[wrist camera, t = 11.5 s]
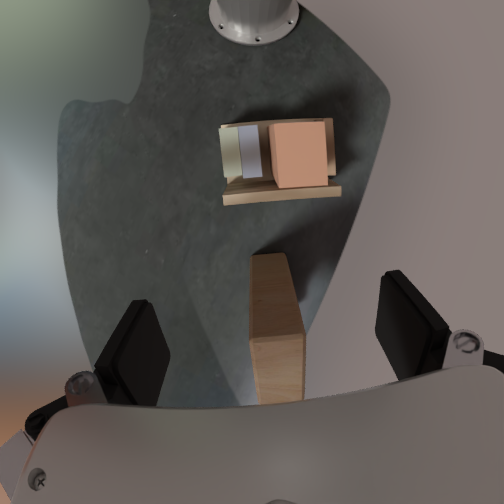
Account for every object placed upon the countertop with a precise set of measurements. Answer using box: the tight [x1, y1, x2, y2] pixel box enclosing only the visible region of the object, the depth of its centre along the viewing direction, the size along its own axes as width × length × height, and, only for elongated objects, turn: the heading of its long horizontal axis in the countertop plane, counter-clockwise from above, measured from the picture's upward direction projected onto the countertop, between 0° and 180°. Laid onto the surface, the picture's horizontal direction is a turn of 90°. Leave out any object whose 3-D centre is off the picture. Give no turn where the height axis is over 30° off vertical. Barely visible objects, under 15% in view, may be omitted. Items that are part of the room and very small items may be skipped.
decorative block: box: [249, 253, 306, 404], centre depth 37 cm, size 11×6×20 cm, turn 5°
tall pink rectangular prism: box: [267, 121, 328, 188], centre depth 32 cm, size 7×5×12 cm
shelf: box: [219, 118, 341, 205], centre depth 35 cm, size 10×14×8 cm
